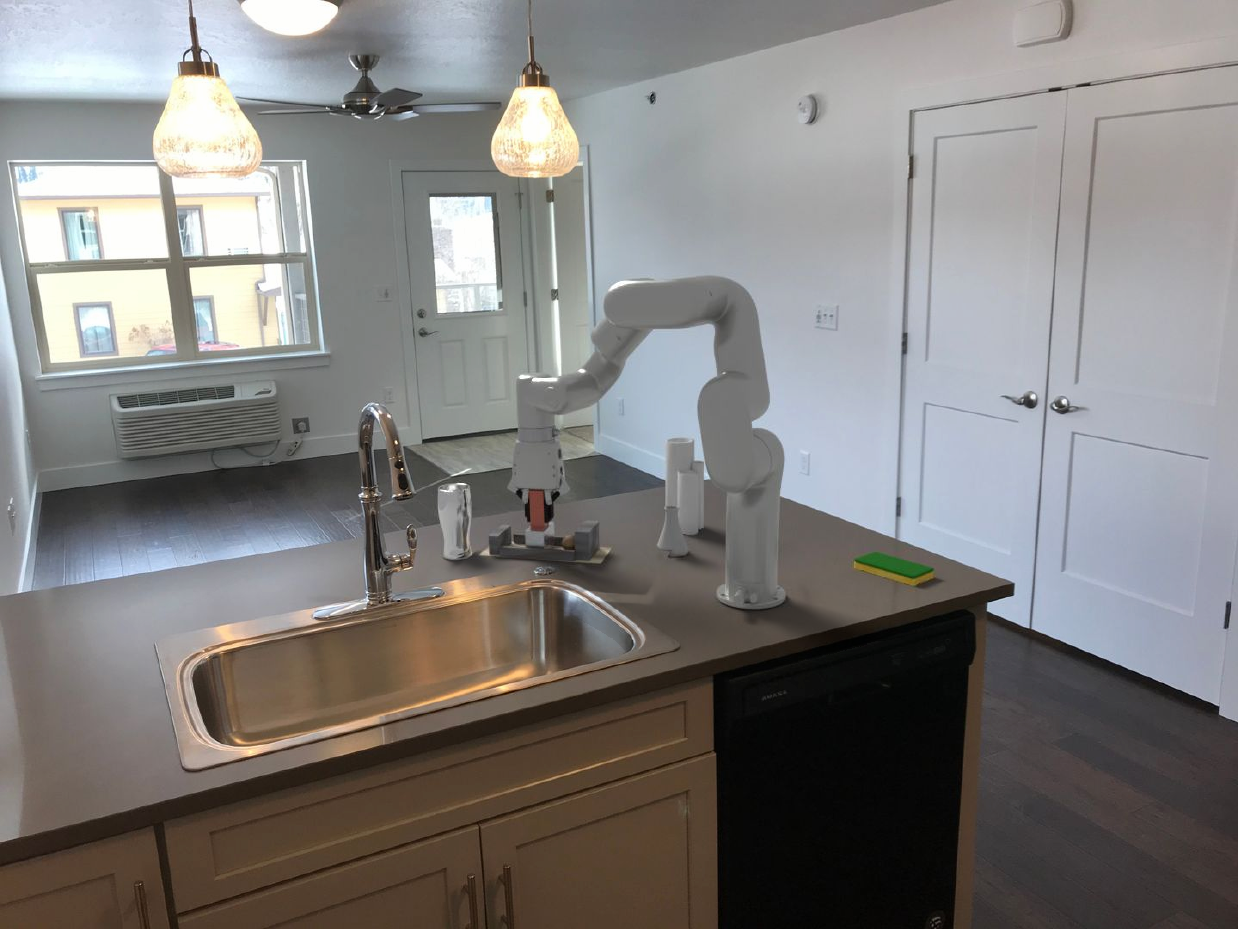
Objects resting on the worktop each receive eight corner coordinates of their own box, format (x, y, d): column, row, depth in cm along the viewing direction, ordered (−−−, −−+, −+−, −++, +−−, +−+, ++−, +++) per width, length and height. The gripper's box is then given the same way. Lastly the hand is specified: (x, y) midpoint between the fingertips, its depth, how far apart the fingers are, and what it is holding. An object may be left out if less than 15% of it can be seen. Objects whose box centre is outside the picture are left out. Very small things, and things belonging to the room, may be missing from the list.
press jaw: (544, 555, 197) (542, 494, 194) (526, 554, 198) (523, 493, 195) (554, 544, 204) (552, 485, 201) (536, 543, 205) (534, 484, 202)
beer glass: (464, 562, 199) (460, 492, 196) (434, 559, 202) (430, 490, 198) (479, 552, 206) (476, 484, 202) (450, 549, 208) (447, 482, 204)
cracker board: (600, 570, 194) (599, 534, 192) (479, 562, 199) (477, 527, 198) (612, 554, 203) (611, 520, 201) (496, 547, 209) (494, 513, 207)
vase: (660, 523, 224) (659, 439, 220) (686, 519, 228) (686, 436, 223) (685, 536, 215) (685, 448, 210) (712, 531, 218) (713, 445, 213)
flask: (689, 558, 200) (690, 511, 198) (655, 558, 201) (654, 512, 198) (688, 546, 207) (688, 502, 205) (654, 547, 208) (654, 502, 205)
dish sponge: (874, 562, 197) (874, 550, 197) (934, 579, 187) (934, 567, 187) (852, 570, 193) (853, 558, 192) (913, 588, 183) (913, 576, 182)
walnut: (576, 556, 198) (576, 538, 197) (560, 555, 198) (559, 537, 197) (581, 550, 201) (581, 533, 200) (565, 549, 202) (564, 532, 201)
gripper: (580, 431, 197) (582, 518, 201) (504, 429, 201) (508, 514, 205) (570, 439, 190) (572, 528, 194) (491, 436, 194) (495, 524, 198)
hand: (539, 520), depth 200 cm, fingers closed on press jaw, 3 cm apart
